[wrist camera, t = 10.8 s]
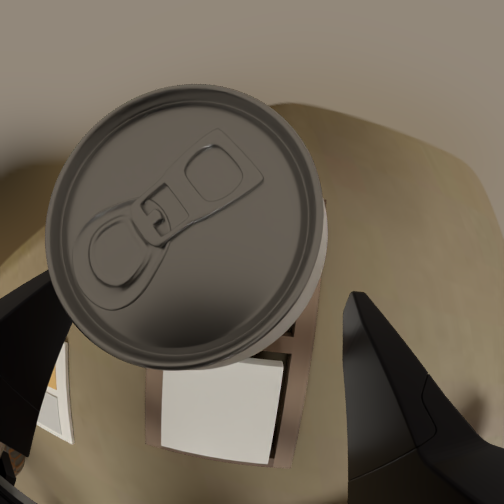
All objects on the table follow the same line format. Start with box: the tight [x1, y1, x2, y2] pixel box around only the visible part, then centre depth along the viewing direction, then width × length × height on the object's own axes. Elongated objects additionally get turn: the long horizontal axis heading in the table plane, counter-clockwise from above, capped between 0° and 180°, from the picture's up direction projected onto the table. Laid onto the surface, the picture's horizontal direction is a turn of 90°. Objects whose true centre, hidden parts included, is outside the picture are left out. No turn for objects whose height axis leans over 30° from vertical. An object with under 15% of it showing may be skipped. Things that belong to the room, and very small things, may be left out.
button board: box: [145, 199, 326, 468], centre depth 17 cm, size 18×10×2 cm, turn 174°
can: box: [45, 84, 328, 371], centre depth 11 cm, size 6×6×12 cm
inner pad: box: [161, 358, 284, 464], centre depth 15 cm, size 7×7×2 cm
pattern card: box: [37, 342, 75, 444], centre depth 18 cm, size 10×6×1 cm, turn 174°
